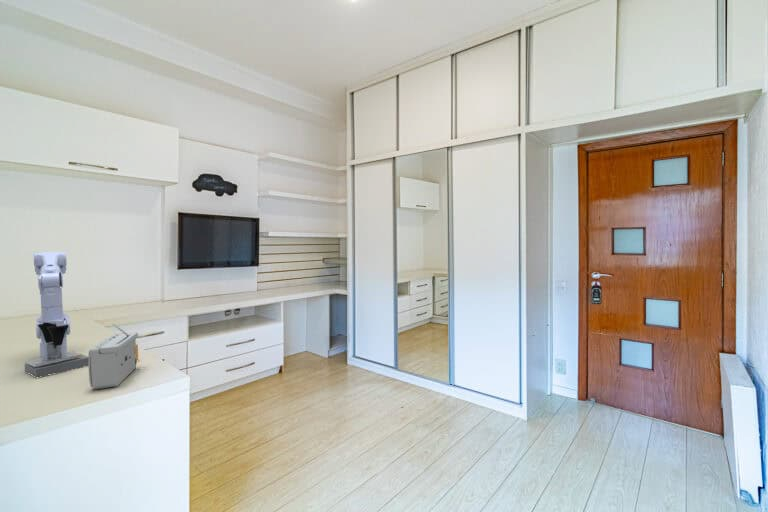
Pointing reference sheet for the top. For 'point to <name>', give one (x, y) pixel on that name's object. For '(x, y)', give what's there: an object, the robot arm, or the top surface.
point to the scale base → (57, 366)
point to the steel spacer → (53, 351)
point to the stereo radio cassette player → (112, 360)
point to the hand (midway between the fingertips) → (53, 343)
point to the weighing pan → (48, 361)
